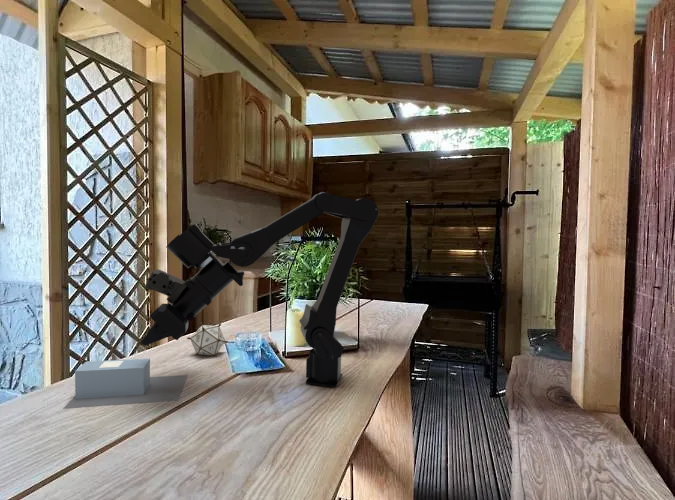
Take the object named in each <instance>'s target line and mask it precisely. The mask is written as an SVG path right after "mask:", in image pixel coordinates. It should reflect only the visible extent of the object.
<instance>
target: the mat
mask: <svg viewBox="0 0 675 500" xmlns="http://www.w3.org/2000/svg"><path fill="white" fill-rule="evenodd" d="M188 376H189V374H182V375H181V374H180V375H179V374H178V375H165V376H164V375H162V376H160V375H159V376H150V384H149V386H148V388H147V389H146V391H145V393H144V394H143V395H129V396H114V397H99V398H84V399H75V396H74V397H73V398H72V399H71V400H70V401H69V402H68V403H66V404H65V406H64V407H63V408H62V410H63V409H78V408H81V409H82V408H90V407H94V408H95V407H107V406H119V405H120V406H122V405H123V406H124V405H134V404H150V403H162V402H163V403H164V402H177V401H179V400H180V397H181V394H182V391H183V389H184V386H185V383H186V380H187V378H188Z"/></svg>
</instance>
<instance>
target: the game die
mask: <svg viewBox="0 0 675 500" xmlns="http://www.w3.org/2000/svg"><path fill="white" fill-rule="evenodd" d="M199 324H200V326H199V327H198V329H197V330H196V331H195V333H193V334H192V335H191V337H189V336H188V337H186V339H187V340H190V342H191V345H192V346H193V349H194V351H195V353H196V354H195V356H211V357H212V356H213V357H216V356H217V355H216V354H217V353H218V352H219V351H220V350H221V348H222V347H223V345H224V344H227V343H229V341H228V340H225V337H224V334H223V332H222V329H221V328H220V327H221V326H222V323H219V324H218V325H214V324H213V325H209V324H203V322H202V321H201V322H200V323H199Z"/></svg>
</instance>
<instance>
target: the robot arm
mask: <svg viewBox="0 0 675 500" xmlns="http://www.w3.org/2000/svg"><path fill="white" fill-rule="evenodd" d="M379 212H380V211H379V208H378V206H377V204H376V202H375V201H374V200H372V199H370V198H367V197H364V198H363V197H362V198H357V199H354V198H349V197H346V196H339V195H335V194H331V193H328V192H325V191H324V192H323V191H321V192H319V193H317V194H315V195H313V196H312V198H310V199H308V200H306V201H305V202H304V203H302V204H300V205H298V206H297V207H295V208H293V209H292V210H290V211H289V212H287V213H285V214H284V215H282V216H280V217H278V218H277V219H275V220H274V221H272V222H270V223H269V224H267V225H266V226H263V227H260V228H258V229H255V230H252V231H250V232H247V233H244V234H242V235H239V236H237V237H235V238H234V239H233V240H231V241H230V242H225V243H223V242H222V243H221V242H218V243H213V241H212V240H211V239H210V238H209V237H208V236H207V235H206V234H205V233H204V232H203V230H201V228H200V227H199V226H198V225H197V224H196V223H195V224H191V225H190V226H189V227H188V228H187V229H185V230H184V231H183V232H181V233H180V234H177V235H176V236H175V237H174V238H173V239H172V240H171V241H170V242H169V243H168V244H167V245H166V247H165V248H166V249H167V250H168V251H169V252H170V253H172V255H174V256H175V257H176V258H177V259H178V260H179V262H181V263H182V264H183V265H184V267H186V268H187V269H189V268H190V267H192V268H195V269H198V268H199V267H200V266H201V265H202V264H203V263H205V262H206V261H207V260H208V259H209V258H211V260H210V261H208V262H207V263H206V264H205V265H204V266H203V267H202V268H201V269H199V271H198V272H197V273H195V275H193V276H192V277H189V278H187V279H186V280H183V279H181V278H179V277H178V276H175V275H173V274H170V273H167V272H166V271H163V270H161V269H157V268H156V269H153V270H152V272H151V273H150V275H149V277H147V281H146V283H145V285H144V287H145V289H148V290H150V291H155V292H158V293H159V294H162V295H163V296H168V297H167V298H166V301H168V302H169V303H161V304H160V305H159V306H158V307H156V309H155V310H154V311H153V312H151V313H150V315H149V317H150V318H151V320H153V322H154V323H153V325H152V326H151V328H150V329H149V330H148V331H147V333H146V334H145V336H144V337H143V338H142V339H141V341H140V344H142V345H143V346H144V347H147V346H148V345H152V344H155V343H156V342H159V341H161V340H165V339H166V338H169V337H172V339H174V340H176V341H178V340H179V339H180V338H181V337H182V336H183V335H185V334H186V332H187V331H188V329H189V322H190V321H191V322H192V321H193V320H194V319H195V318H196V316H197V315H198V314H199V313H200V312H202V310H203V309H204V308H205V307H206V306H209V305H210V304H212V302H213V300H214V299H215V298H216V297H217V296H218V295H219V294H220V293H222V291H223V290H225V288H227V287H228V286H229V285H230V284H231V283H232V282H233V281H234V282H235V283H236V284H237V285H238V286H239V287H242V286H243V285H244V276H245V271H244V270H238V269H236V267H234V266H233V265H235V266H237V267H242V268H245V267H246V268H247V267H250V266H251V265H253V264H254V263H255V262H256V261H257V260H259V259H260V258H261V257H262V256H263V255H264V254H265V253H266V252H268V250H269V249H270V248H271V247H273V245H275V244H276V243H277V242H279V241H280V240H282V239H283V238H285V237H286V236H288V235H290V234H291V233H293V232H295V231H296V230H298V229H299V228H301V227H303V226H305V225H306V224H308V223H309V222H310V221H312V220H314V219H316V218H317V217H319V216H320V215H322V214H323V213H324V214H327V215H330V216H333V217H335V218H340V219H341V227H340V230H341V231H340V238H339V241H338V244H337V246H336V249H335V252H334V254H333V257H332V259H331V263H330V265H329V268H328V271H327V273H326V276H325V279H324V282H323V284H322V286H321V289H320V293H319V295H318V298H317V299H316V301H315V302H314V303H313V304H312V306H311V305H309V303H308V304H307V303H306V304H305V306H304V311H303V314H302V317H301V318H300V319H299V320H298V322H299V323H300V332H301V334H302V337H303V338H304V340H305V342H306V344H307V345H308V346H309V347H310V348H311V349H310V350H309V351H308V357H307V358H306V359H305V360H306V365H305V377H306V380H305V384H306V385H313V386H320V387H329V388H336V387H338V385H339V383H340V381H341V379H342V378H343V373H341V371H342V368H341V367H342V355H343V352H344V350H345V347H344V346H343V345H342V343H341V342H340V341H339V340H338V338H337V337H336V336H335V335H334V334H335V330H336V324H337V309H338V306H339V305H338V304H339V303H340V300H341V297H342V294H343V291H344V289H345V286H346V283H347V281H348V278H349V275H350V272H351V269H352V266H353V265H354V262H355V259H356V257H357V253H358V251H359V249H360V245H361V244H362V242H363V241H364V240H365V239H366V237H367V236H368V235H369V233H370V232H371V231H372V229H373V227H374V226H375V223H376V222H377V220H378V218H379V214H380V213H379ZM219 258H223V259H227V261H226V262H225V263H223V261H221V260H220V259H219ZM228 260H229V261H230V262H231V263H232V264H233V265H232V264H231V263H230V262H229V261H228Z"/></svg>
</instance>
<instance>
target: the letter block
mask: <svg viewBox="0 0 675 500" xmlns="http://www.w3.org/2000/svg"><path fill="white" fill-rule="evenodd" d="M150 377H151V358H133V359H132V358H131V359H112V360H111V359H110V360H89V361H85V362H84V363H83V364H81V365H80V366H79V367H78V368H77V369H75V370H74V394H75V396H74V397H75V399H84V398H99V397H114V396H129V395H143V394H144V393H145V391H146V389H147V388H148V386H149V384H150Z"/></svg>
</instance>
